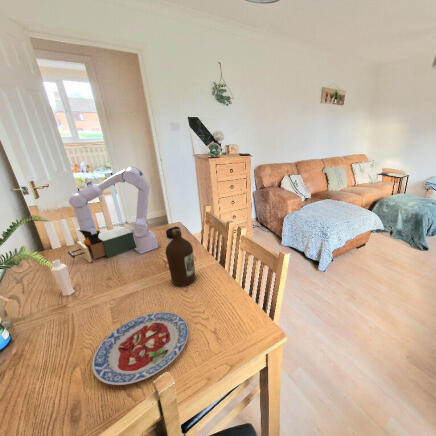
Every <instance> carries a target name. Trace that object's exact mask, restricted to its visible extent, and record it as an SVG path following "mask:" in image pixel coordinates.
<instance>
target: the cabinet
mask: <svg viewBox="0 0 436 436" xmlns="http://www.w3.org/2000/svg"><path fill="white" fill-rule="evenodd" d="M98 239H99V240H101V241H102V242H103V244H104V248H105V251H106V254H107V255H105V256H104V257H106V258H107V259H108V258H111V257H115V256H117V255H119V254H122V253H126V252H128V251H131V250H135V249H134V248H137V245H136V241H135V237H134V234H133V230H130V229H128V228H127V227H125V226H119V227H116V228H112V229H108V230H105V231H102V232H100V233H99V235H98Z"/></svg>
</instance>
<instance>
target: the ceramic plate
mask: <svg viewBox="0 0 436 436" xmlns="http://www.w3.org/2000/svg"><path fill="white" fill-rule="evenodd" d="M188 339H189V326H188V323H187V321H186V320H185V319H184V318H183V317H182V316H180V315H179V314H177V313H173V312H169V311H155V312H151V313H146V314H143V315H140V316H137V317H135V318H132V319H131V320H128V321H126V322H125V323H123V324H121V325H120V326H118V327H117V328H115V330H113V331H112V332H111V333H109V334H108V335H107V336H106V337H105V338H104V339H103V340H102V342H101V343H100V344H99V346H98V347H97V349H96V351H94V352H95V353H94V355H93V358H92V362H91V368H92V373H93V374H94V376H95V377H96V379H98V380H99V381H100V382H102V383H105V384H106V385H113V386H125V385H131V384H134V383H138V382H141V381H143V380H146V379H148V378H150V377H152V376H154V375H156V374H158V373H159V372H161V371H162V370H164V369H165V368H167V367H168V366H169V365H170V364H171V363H172V362H173V361H174V360H175V359H176V358H177V357H178V356H179V355H180V354H181V352H182V350H183V349H184V348H185V346H186V343H187V341H188Z"/></svg>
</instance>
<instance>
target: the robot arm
mask: <svg viewBox="0 0 436 436" xmlns="http://www.w3.org/2000/svg"><path fill="white" fill-rule="evenodd" d="M118 183H128V184H129V185H132V186H134V187H135V188H136V189H137V190H138V191H137V202H136V215H135V216H136V217H135V222H134V226H133V229H132V232H133V235H134V239H135V244H136V248H134V249H133V250H134V251H136V252H138V253H139V254H140V255H141V254H142V255H143V254H144V253H148V252H150V251H153V250H155V249H158V248H159V243H158V239H157V234H155V232H154V231H153V230H150V231H149V229H148V228H149V223H148V206H149V198H150V197H149V195H150V183H149V182H148V180H147V178H146V176H145V175H144V173H143V172H142V170H141V169H139V168H138V167H136V166H129V167H128V168H126V169H122V170H120V171H118V172H116V173H114V174H113V175H111V176H110V177H108V178H107V179H105V180H103V181H101V182H100V183H92V184H91V183H89V184H87V185H86V187H85V188H83V189H82V190H80V189H79V190H78V191H77V192H76V193H74V194H73V195H71V196H70V197H69V199H68V204H69V205H70V206H71V207H73V211H74V215H75V218H76V220H77V224H78V226H79V227H77V228H76V230H77V231H78V232H80V233H81V234H82V236H83V237H84V238H85V239H86V238H88V239H89V241H90V242H91V244H92V245H94V244H97V243H98V235H99V233H101V232H100V230H97V225H96V223H95V220H94V217H93V214H92V210H91V208H90V204H89V202H92V201H94V200H95V199H97V198H99V197H100V196H102V195H103V194H104V190H106V189H108V188H110V187H112V186H113V185H115V184H118Z"/></svg>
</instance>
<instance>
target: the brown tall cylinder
mask: <svg viewBox="0 0 436 436" xmlns="http://www.w3.org/2000/svg"><path fill="white" fill-rule="evenodd" d="M174 229H180V230H181V228H180V227H179V226H174V227H170V228H168V229H166V230H165V235H166V242H167V245H168V244H169V243H170V242H171V241H172V239H173V236H172V230H174ZM180 232H181V233H182V231H180Z"/></svg>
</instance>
